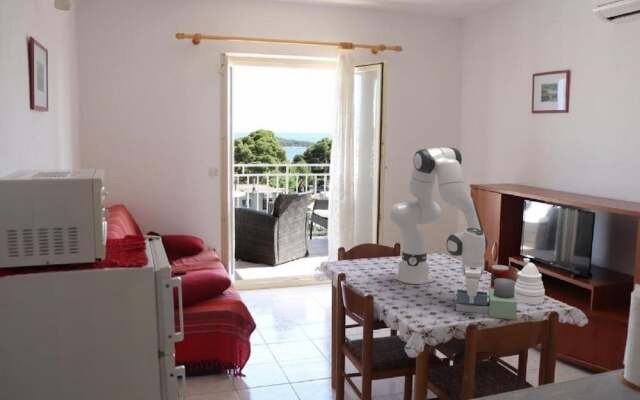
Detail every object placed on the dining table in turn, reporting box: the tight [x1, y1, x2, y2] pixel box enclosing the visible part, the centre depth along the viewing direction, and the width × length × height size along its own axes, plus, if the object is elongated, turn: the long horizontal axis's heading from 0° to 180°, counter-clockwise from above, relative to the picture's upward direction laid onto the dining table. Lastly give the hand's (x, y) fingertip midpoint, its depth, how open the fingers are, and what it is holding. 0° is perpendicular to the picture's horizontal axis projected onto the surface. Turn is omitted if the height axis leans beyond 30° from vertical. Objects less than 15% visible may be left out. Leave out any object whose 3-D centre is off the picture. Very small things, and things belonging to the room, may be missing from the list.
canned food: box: [490, 264, 510, 289], centre depth 258 cm, size 8×8×11 cm
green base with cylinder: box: [455, 278, 518, 320], centre depth 229 cm, size 17×23×13 cm
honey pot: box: [514, 258, 546, 305], centre depth 243 cm, size 13×13×18 cm
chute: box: [456, 289, 488, 307], centre depth 230 cm, size 5×12×5 cm, turn 74°
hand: (471, 300), depth 230 cm, fingers closed on chute, 5 cm apart
